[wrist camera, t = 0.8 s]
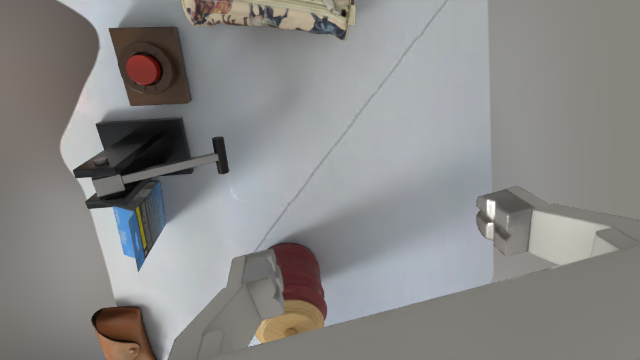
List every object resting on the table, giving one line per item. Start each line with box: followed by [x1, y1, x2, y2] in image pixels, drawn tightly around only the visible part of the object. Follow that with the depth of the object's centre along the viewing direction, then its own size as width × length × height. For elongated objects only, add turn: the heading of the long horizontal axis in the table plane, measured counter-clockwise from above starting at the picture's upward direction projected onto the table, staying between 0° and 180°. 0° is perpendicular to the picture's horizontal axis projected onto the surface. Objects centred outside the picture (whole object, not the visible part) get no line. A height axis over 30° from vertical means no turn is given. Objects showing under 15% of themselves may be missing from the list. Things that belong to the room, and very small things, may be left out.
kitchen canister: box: [255, 243, 327, 343], centre depth 54 cm, size 13×13×18 cm
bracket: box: [73, 118, 193, 209], centre depth 42 cm, size 12×9×15 cm
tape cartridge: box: [113, 181, 166, 272], centre depth 47 cm, size 9×4×12 cm, turn 175°
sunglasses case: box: [91, 307, 157, 360], centre depth 63 cm, size 18×7×7 cm
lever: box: [92, 137, 229, 197], centre depth 41 cm, size 16×5×2 cm, turn 89°
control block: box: [109, 27, 192, 106], centre depth 42 cm, size 10×8×4 cm
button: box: [126, 54, 161, 85], centre depth 40 cm, size 4×4×2 cm
